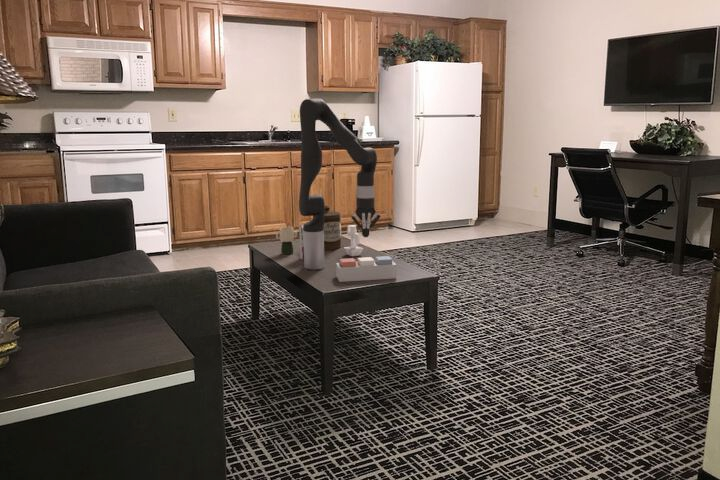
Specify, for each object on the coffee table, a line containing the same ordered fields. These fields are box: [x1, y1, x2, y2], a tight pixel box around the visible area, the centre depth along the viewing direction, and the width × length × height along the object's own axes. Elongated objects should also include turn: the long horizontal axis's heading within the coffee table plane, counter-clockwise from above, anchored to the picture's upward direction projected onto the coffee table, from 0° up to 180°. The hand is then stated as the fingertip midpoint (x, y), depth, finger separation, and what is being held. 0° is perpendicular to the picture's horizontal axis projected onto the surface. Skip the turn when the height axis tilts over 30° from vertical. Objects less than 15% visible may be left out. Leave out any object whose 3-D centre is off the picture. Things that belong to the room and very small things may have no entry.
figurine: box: [343, 224, 364, 257], centre depth 289 cm, size 7×9×15 cm
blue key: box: [374, 255, 393, 265], centre depth 250 cm, size 6×6×5 cm
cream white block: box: [357, 256, 375, 266], centre depth 249 cm, size 6×6×5 cm
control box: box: [335, 260, 397, 283], centre depth 250 cm, size 9×24×6 cm, turn 101°
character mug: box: [275, 226, 298, 255], centre depth 294 cm, size 11×7×13 cm, turn 111°
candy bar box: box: [298, 225, 304, 261], centre depth 283 cm, size 11×5×16 cm, turn 112°
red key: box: [339, 257, 357, 267], centre depth 248 cm, size 6×6×5 cm
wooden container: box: [312, 205, 342, 251], centre depth 308 cm, size 15×15×22 cm
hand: (365, 236), depth 247 cm, fingers closed
